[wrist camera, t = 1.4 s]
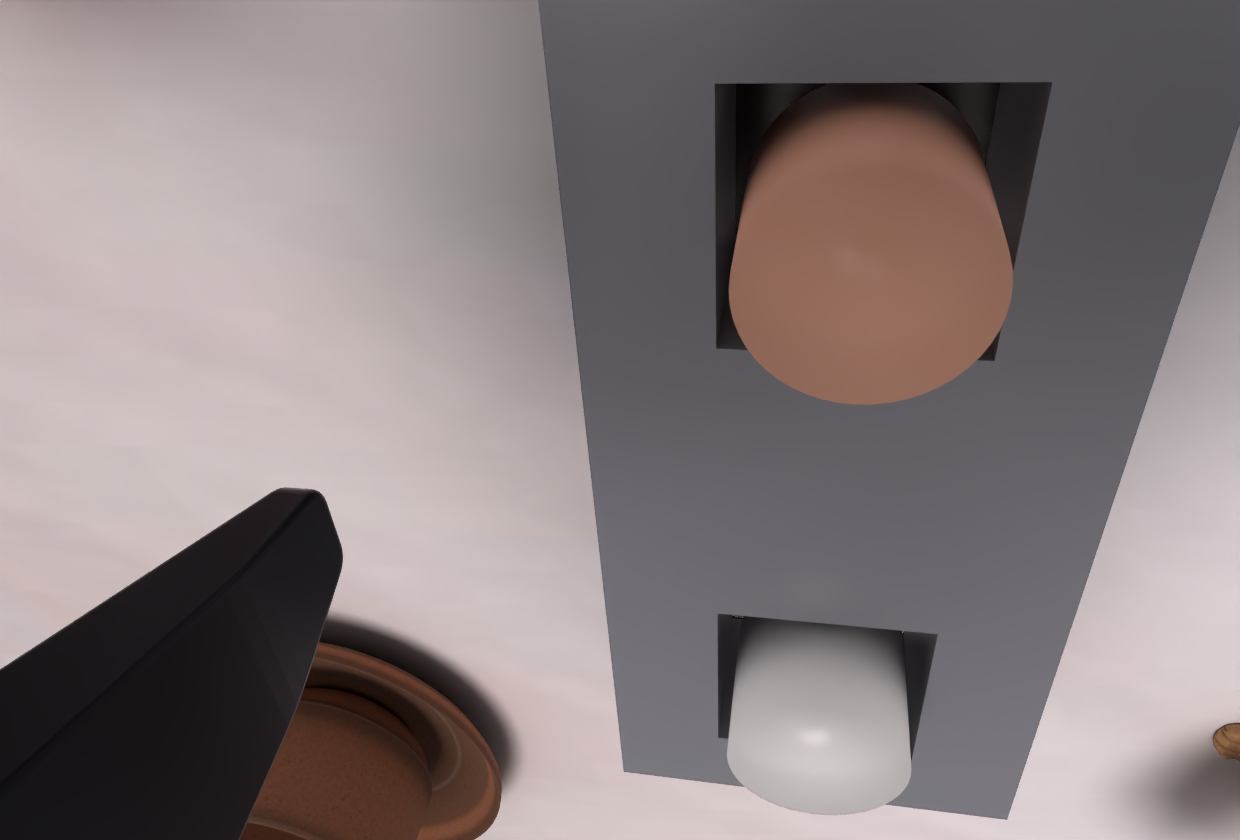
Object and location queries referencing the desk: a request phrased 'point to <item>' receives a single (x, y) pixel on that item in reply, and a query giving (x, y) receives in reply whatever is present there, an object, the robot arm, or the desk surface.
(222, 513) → the desk surface
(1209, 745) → the desk surface
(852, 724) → the grey piece
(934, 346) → the terracotta plug
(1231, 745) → the lion figurine
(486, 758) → the cup and saucer
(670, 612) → the plug block
